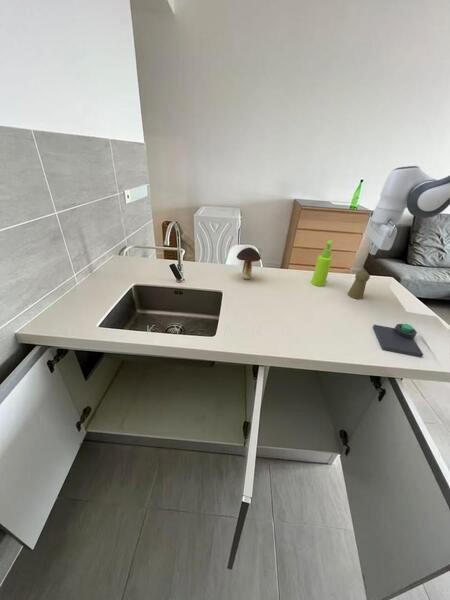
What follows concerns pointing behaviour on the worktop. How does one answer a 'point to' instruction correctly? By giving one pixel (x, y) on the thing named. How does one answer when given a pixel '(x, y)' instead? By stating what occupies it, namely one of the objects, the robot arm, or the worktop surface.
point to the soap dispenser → (322, 266)
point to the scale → (397, 340)
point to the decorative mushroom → (248, 260)
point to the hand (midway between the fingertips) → (371, 253)
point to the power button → (407, 328)
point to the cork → (359, 285)
